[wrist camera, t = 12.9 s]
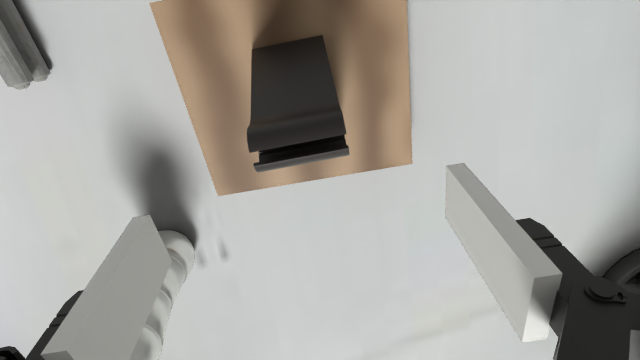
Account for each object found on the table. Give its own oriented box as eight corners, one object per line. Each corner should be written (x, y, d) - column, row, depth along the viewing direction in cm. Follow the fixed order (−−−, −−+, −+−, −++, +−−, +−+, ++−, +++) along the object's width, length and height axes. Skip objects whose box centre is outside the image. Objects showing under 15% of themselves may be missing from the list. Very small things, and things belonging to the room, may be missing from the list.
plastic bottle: (151, 265, 46) (64, 441, 29) (138, 223, 43) (31, 392, 26) (202, 264, 47) (147, 436, 29) (194, 221, 43) (125, 387, 26)
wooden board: (392, -42, 31) (405, -44, 28) (402, 147, 40) (412, 163, 36) (165, -1, 32) (149, 3, 28) (224, 177, 40) (218, 196, 37)
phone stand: (338, 133, 34) (357, 202, 24) (277, 145, 35) (268, 218, 24) (322, 34, 30) (337, 65, 20) (252, 47, 30) (228, 86, 20)
